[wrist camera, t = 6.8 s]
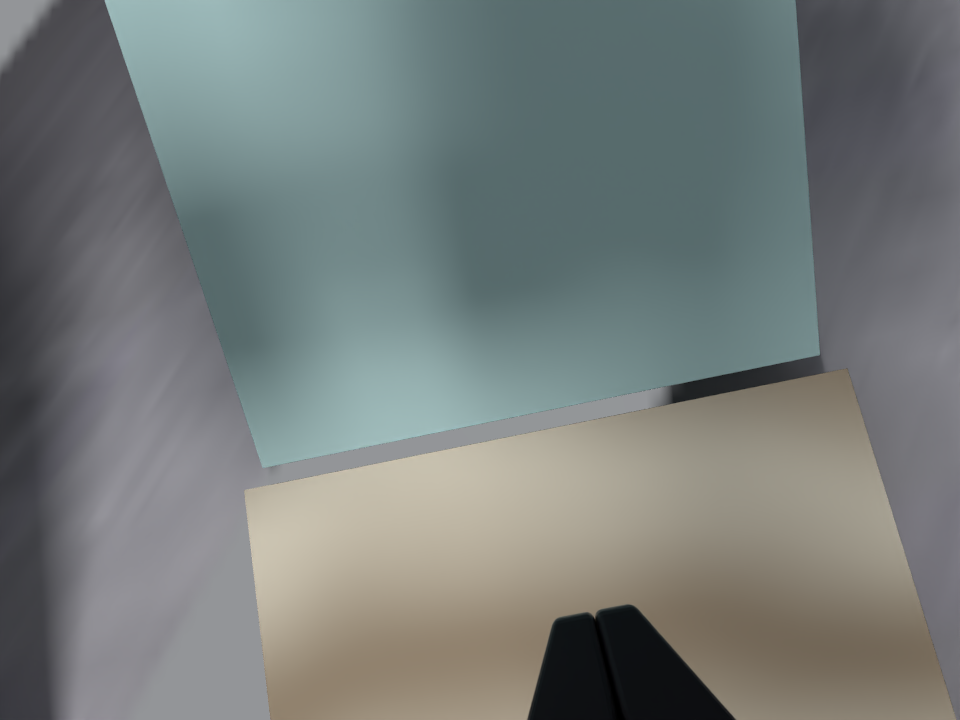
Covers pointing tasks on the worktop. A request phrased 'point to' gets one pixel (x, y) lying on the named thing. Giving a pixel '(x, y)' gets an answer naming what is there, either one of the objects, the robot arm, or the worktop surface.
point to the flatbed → (602, 565)
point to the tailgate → (478, 201)
